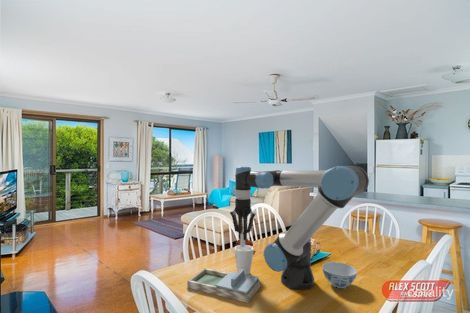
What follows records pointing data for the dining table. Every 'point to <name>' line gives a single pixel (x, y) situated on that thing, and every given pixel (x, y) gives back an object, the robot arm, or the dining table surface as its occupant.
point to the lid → (237, 282)
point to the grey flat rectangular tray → (208, 282)
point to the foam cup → (243, 258)
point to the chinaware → (339, 274)
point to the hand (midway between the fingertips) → (242, 246)
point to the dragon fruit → (247, 242)
